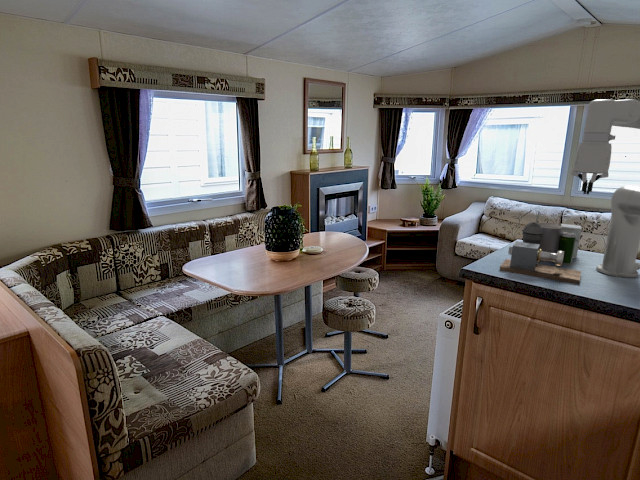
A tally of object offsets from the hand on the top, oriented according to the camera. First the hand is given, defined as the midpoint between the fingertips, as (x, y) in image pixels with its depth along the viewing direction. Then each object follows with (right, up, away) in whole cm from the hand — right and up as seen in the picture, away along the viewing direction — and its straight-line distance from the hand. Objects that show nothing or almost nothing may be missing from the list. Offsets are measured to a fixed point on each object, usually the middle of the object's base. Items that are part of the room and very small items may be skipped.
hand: (586, 193), depth 141 cm
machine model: (-12, -28, +8) cm, 31 cm away
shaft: (-14, -24, +8) cm, 28 cm away
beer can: (+4, -25, +21) cm, 33 cm away
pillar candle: (0, -23, +27) cm, 35 cm away
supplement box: (+12, -22, +32) cm, 41 cm away
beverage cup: (-9, -24, +22) cm, 34 cm away
